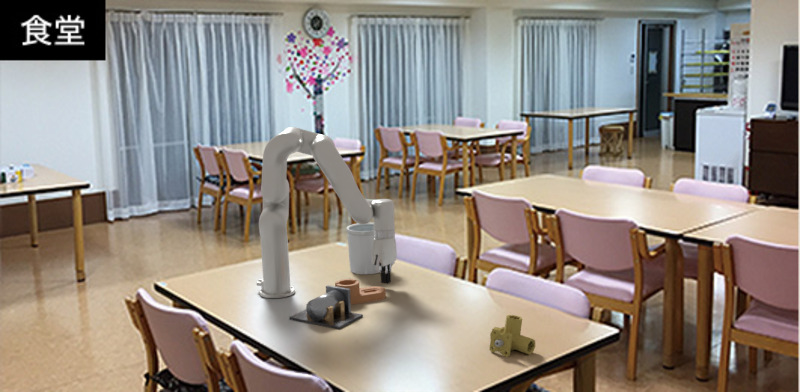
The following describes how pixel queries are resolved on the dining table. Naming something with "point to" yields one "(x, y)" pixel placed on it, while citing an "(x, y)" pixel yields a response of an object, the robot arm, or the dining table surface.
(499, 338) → the ball valve
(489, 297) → the dining table surface
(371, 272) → the utensil holder
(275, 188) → the robot arm
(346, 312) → the pipe stub
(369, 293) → the bracket
